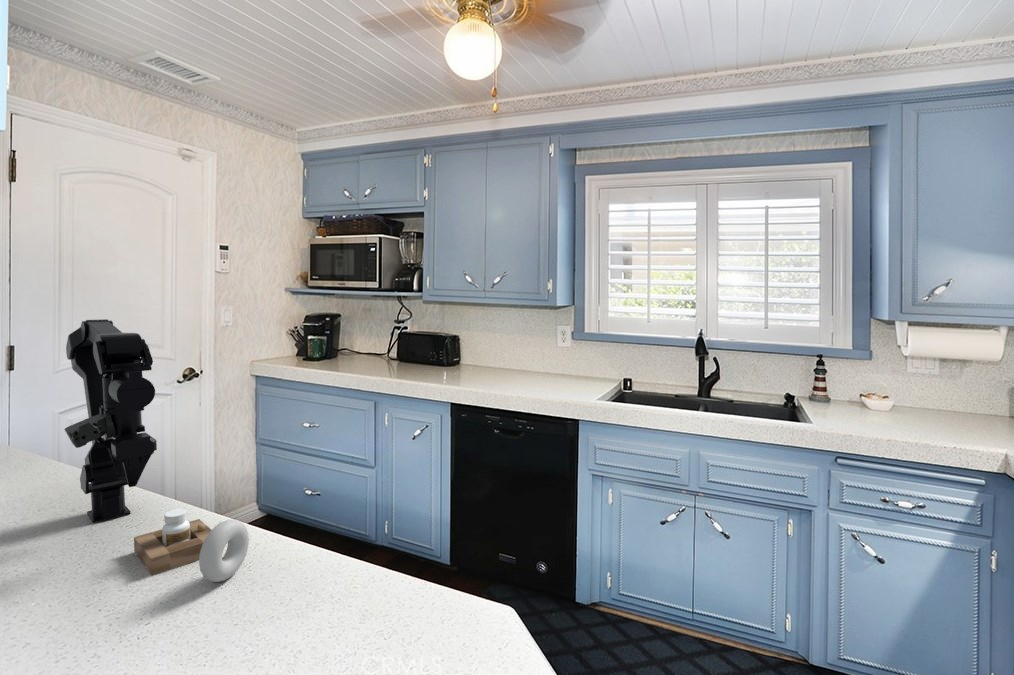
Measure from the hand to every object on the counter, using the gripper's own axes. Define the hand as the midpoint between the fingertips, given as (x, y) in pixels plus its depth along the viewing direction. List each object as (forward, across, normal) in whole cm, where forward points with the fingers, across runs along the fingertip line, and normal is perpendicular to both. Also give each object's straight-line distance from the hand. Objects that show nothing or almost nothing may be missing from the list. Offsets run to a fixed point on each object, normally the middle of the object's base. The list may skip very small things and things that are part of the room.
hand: (126, 479), depth 102 cm
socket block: (+12, +12, +5) cm, 18 cm away
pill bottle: (+12, +12, +5) cm, 18 cm away
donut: (+12, +27, +8) cm, 31 cm away
